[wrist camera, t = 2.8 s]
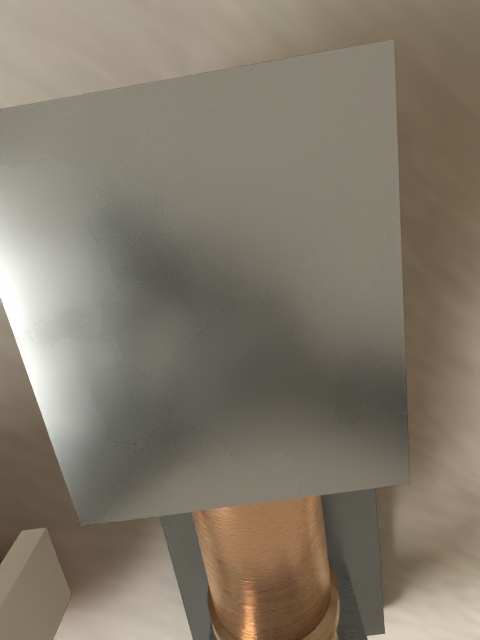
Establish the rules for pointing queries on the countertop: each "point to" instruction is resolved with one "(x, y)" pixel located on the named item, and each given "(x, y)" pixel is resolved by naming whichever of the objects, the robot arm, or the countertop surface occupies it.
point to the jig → (218, 301)
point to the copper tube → (269, 571)
